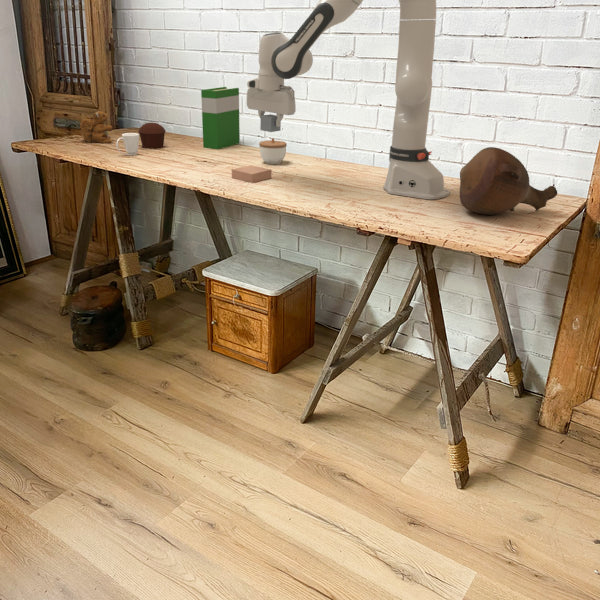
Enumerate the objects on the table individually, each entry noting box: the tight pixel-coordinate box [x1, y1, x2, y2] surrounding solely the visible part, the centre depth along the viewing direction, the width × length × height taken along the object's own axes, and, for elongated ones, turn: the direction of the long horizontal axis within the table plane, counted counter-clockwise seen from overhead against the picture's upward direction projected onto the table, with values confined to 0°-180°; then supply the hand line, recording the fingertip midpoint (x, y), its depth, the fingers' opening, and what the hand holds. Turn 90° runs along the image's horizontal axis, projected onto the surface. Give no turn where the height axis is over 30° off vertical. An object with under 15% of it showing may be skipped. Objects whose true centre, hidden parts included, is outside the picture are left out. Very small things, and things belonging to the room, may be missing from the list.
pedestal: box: [231, 165, 272, 184], centre depth 221 cm, size 10×10×3 cm
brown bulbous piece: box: [459, 146, 558, 216], centre depth 185 cm, size 20×20×30 cm
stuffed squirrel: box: [79, 110, 114, 144], centre depth 275 cm, size 10×14×13 cm
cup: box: [115, 132, 140, 156], centre depth 252 cm, size 7×10×8 cm
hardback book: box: [200, 86, 241, 150], centre depth 272 cm, size 18×7×24 cm, turn 152°
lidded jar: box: [258, 137, 287, 165], centre depth 245 cm, size 11×11×9 cm
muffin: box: [137, 122, 167, 150], centre depth 268 cm, size 12×11×10 cm
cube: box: [259, 113, 282, 133], centre depth 218 cm, size 5×5×5 cm
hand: (270, 125), depth 218 cm, fingers closed on cube, 5 cm apart
